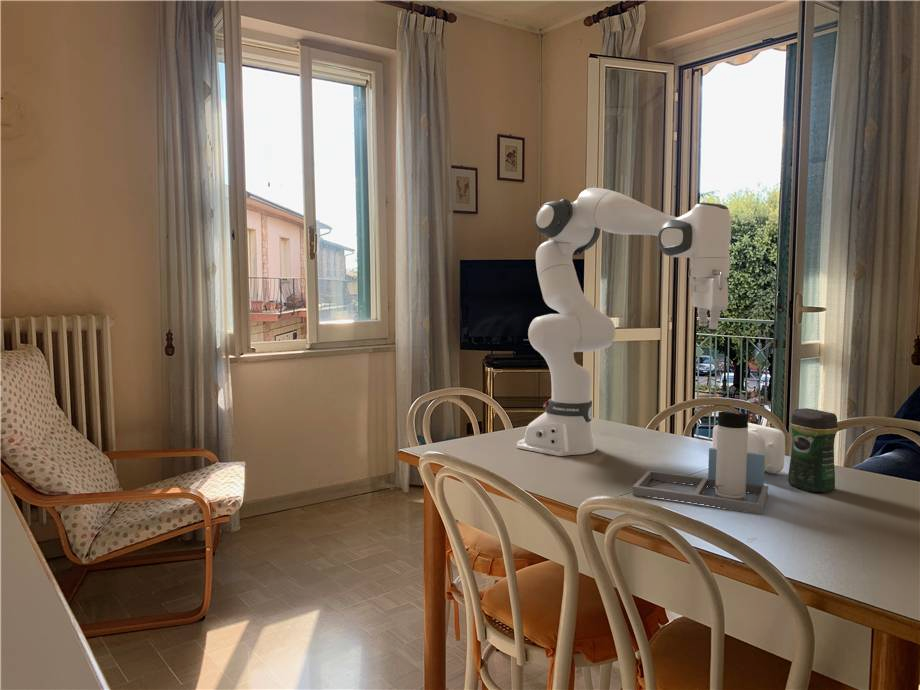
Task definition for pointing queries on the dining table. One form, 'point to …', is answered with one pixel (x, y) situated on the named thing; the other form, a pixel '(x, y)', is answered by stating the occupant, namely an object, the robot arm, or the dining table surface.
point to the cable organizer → (763, 445)
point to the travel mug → (731, 455)
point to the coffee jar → (813, 450)
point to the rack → (710, 485)
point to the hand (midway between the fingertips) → (707, 327)
